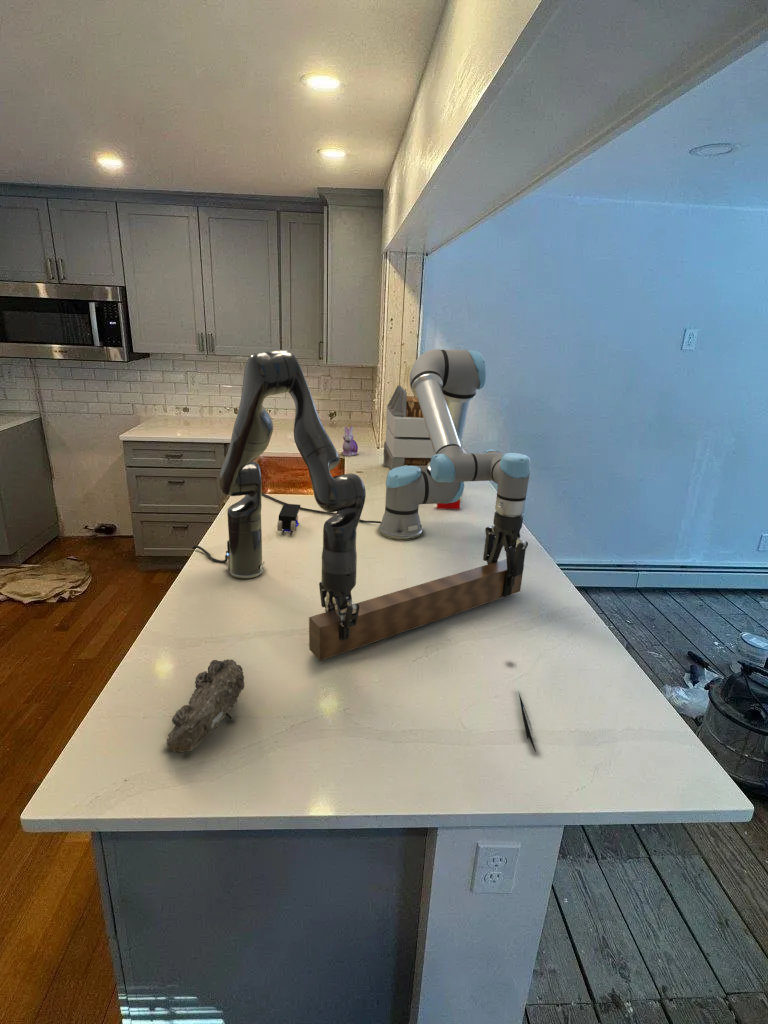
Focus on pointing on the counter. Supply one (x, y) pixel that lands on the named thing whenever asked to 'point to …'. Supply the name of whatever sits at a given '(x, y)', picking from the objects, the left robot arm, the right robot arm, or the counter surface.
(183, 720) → the fossil
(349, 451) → the figurine
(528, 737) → the feather
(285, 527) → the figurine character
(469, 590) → the post
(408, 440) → the grey wooden crate
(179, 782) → the counter surface
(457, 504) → the toy
